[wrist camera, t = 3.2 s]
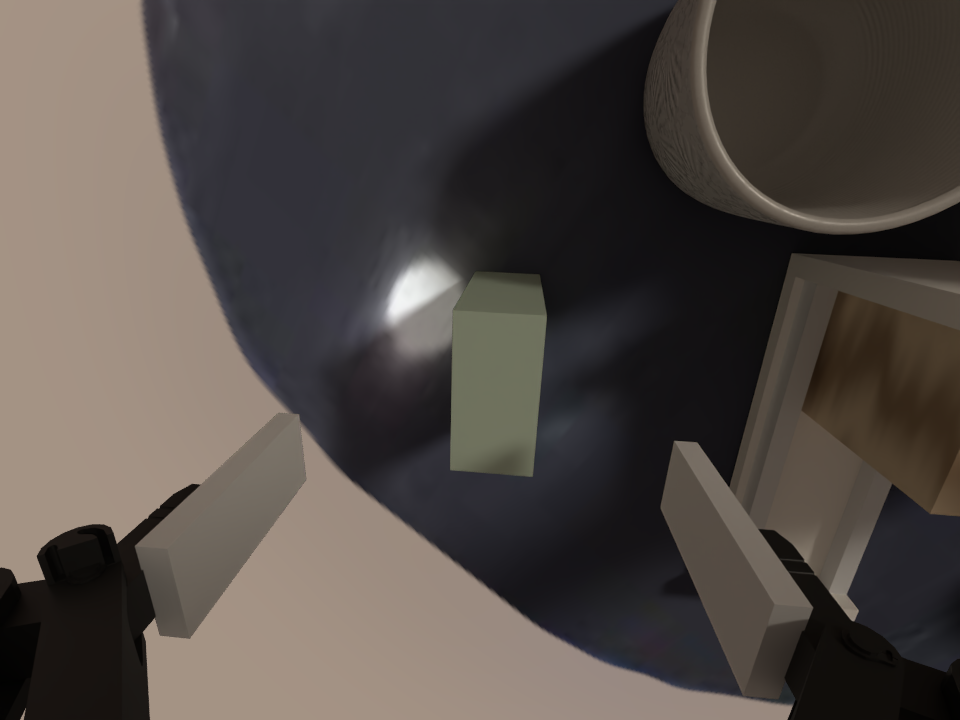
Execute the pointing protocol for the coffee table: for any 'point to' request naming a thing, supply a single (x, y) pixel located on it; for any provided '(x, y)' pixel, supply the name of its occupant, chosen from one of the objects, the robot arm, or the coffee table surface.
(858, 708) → the robot arm
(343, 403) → the coffee table surface
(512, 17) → the coffee table surface
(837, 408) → the oak panel
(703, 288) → the coffee table surface
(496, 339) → the green panel
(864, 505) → the track
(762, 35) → the planter
